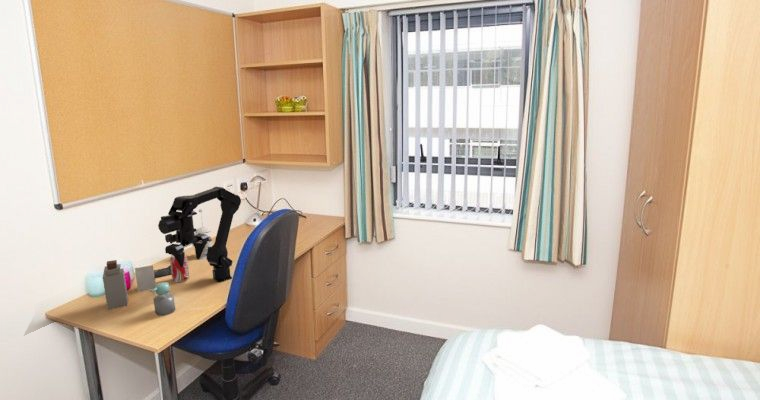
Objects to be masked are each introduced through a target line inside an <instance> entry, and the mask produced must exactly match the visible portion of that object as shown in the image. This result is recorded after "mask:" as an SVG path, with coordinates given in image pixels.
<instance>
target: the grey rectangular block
mask: <svg viewBox="0 0 760 400" xmlns="http://www.w3.org/2000/svg"><path fill="white" fill-rule="evenodd" d="M134 270H135V281H136V286H137V287H136V288H137V291H138V292H139V293H140V292H144V291H151V290H152V289H154V288H155V285H156V278H155V277H154V265H153V264H152V265H146V266H140V267H135V268H134ZM138 292H137V293H138Z"/></svg>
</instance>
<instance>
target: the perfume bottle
mask: <svg viewBox="0 0 760 400" xmlns="http://www.w3.org/2000/svg"><path fill="white" fill-rule="evenodd" d="M102 282H103V289H104V295H105V299H106V300H105V301H106V307H107V310H114V309H118V308H125V307H128V305H129V295H128V289H127V283H126V276H125V270H124V267H123V268H121V263H118V262H117V259H116V260H115V259H114V260H108V261H106V265H105V266H104V269H103V274H102ZM124 306H125V307H124Z"/></svg>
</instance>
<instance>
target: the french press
mask: <svg viewBox="0 0 760 400" xmlns="http://www.w3.org/2000/svg"><path fill="white" fill-rule="evenodd" d="M198 212H199V213H200V217H201V219H203V216H202V212H204V210H203V209H201V208H200V209H199V210H198ZM201 226H202V227H198V228H196V231H195V232H194V235H196V234H209V233H211V231H212V228H209V227H204V225H203V222H201ZM208 236H209V241H208V242H207V244H206V245H205V247H204V249H203V252H202V254H201V257H200V259H199V260H207V256H206V254H207V251H208V247H212V246H213V245H214V243H213V240H212V236H210V235H208Z"/></svg>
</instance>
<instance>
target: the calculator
mask: <svg viewBox="0 0 760 400" xmlns="http://www.w3.org/2000/svg"><path fill="white" fill-rule="evenodd" d="M153 270H154V269H153ZM169 276H172V273H171V265H170V264H169V265H168V266H167V267H164V268H158V269H155V270H154V277H155V279H160V278H164V277H169Z"/></svg>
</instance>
